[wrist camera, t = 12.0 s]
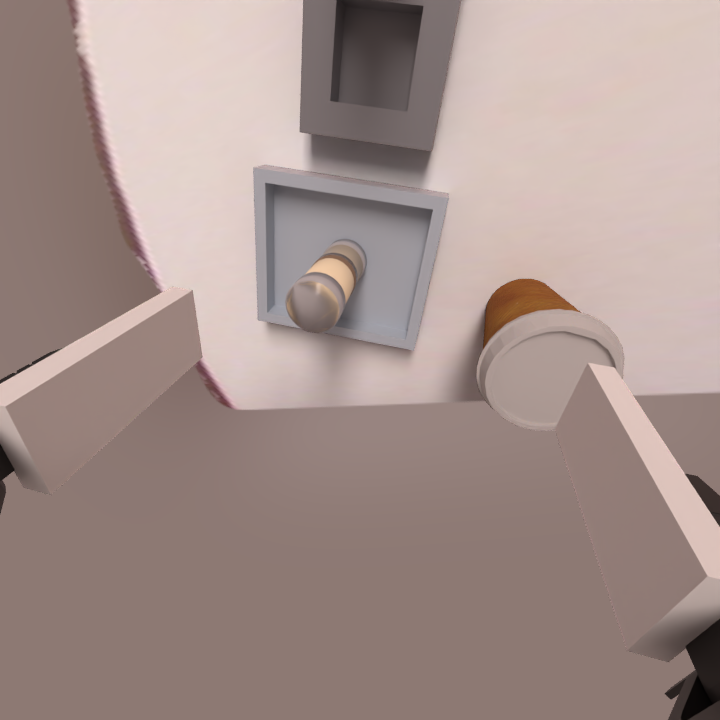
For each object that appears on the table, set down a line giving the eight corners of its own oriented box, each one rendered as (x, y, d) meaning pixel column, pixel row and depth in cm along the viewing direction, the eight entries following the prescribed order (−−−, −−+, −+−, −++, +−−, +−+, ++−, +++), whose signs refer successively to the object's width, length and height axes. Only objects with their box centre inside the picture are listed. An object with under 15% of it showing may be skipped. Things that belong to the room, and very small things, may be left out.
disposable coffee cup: (468, 355, 39) (477, 435, 29) (468, 265, 35) (478, 322, 25) (569, 352, 37) (616, 437, 27) (584, 255, 33) (648, 314, 22)
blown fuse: (369, 242, 35) (343, 285, 25) (364, 284, 37) (338, 337, 28) (326, 235, 35) (285, 274, 26) (323, 277, 37) (284, 327, 28)
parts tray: (448, 193, 32) (448, 198, 30) (415, 338, 39) (414, 350, 37) (265, 164, 33) (253, 167, 31) (267, 310, 41) (257, 320, 39)
